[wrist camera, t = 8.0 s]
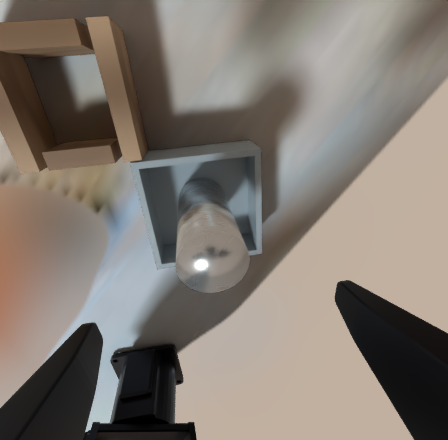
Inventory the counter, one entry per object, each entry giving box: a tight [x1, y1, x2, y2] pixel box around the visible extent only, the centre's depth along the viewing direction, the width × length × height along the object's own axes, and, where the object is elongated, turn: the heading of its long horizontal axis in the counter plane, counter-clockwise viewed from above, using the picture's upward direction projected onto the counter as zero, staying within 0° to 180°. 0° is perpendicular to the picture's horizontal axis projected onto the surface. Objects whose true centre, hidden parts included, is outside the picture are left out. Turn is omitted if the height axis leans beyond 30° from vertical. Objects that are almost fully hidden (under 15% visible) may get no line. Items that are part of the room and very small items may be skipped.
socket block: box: [0, 16, 148, 174], centre depth 14 cm, size 7×7×3 cm
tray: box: [130, 140, 262, 270], centre depth 18 cm, size 8×8×3 cm
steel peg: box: [176, 178, 250, 293], centre depth 15 cm, size 4×4×8 cm
